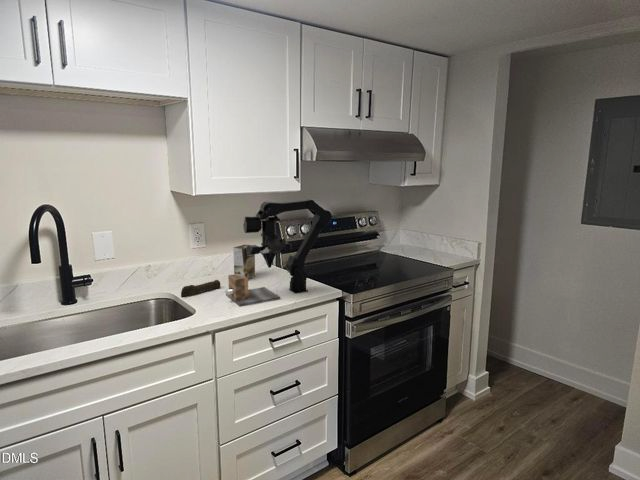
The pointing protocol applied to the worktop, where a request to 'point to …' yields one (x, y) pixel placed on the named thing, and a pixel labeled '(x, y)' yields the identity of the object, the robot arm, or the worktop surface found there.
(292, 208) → the robot arm
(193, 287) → the dark brown rounded bar
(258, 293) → the wooden block on baseplate
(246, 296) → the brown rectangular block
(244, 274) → the coffee box
